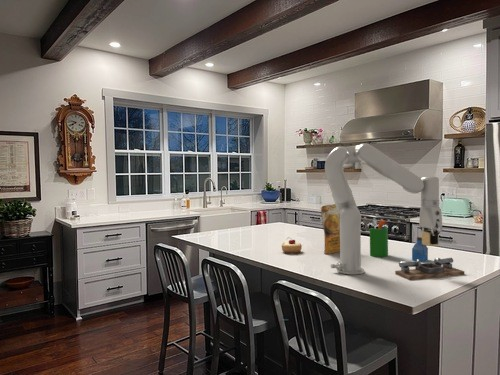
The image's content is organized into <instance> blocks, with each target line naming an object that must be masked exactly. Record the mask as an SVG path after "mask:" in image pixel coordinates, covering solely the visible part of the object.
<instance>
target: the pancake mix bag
mask: <svg viewBox="0 0 500 375" xmlns="http://www.w3.org/2000/svg"><path fill="white" fill-rule="evenodd" d="M320 214H321V220H322V222H321V223H322V229H323V233H324V234H323V235H324V236H323V237H324V252H323V254H325V255H331V253H332V254H336V253H338V252H339V253H340V215H339V212H338V210H337V207H336V204H335V203H334V204H327V205H322V206H321V207H320ZM335 252H336V253H335Z"/></svg>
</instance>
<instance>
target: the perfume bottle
mask: <svg viewBox="0 0 500 375" xmlns="http://www.w3.org/2000/svg"><path fill="white" fill-rule="evenodd" d="M415 242H416V243H415V244H414V246H412V249H411V261H416V260H420V262H421V263H425V262H427V261H428V260H429V259H428V258H429V254H428V253H429V251H428V250H429V247H428V246H427V245H423V244H422V236H421V237H419V236H418V237H416V240H415Z"/></svg>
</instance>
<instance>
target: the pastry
mask: <svg viewBox="0 0 500 375" xmlns="http://www.w3.org/2000/svg"><path fill="white" fill-rule="evenodd" d="M288 239H289V237H287V238H286V239H285V240H286V242H283V243H282V244H281V250H282V252H283V253H284V252H285V254H289V253H295V254H299V253H300V252H301V251H302V248H303V247H302V246H303V245H302V243H300V242H297V241H296V240H295V239H292V238H290V239H289V240H288ZM287 240H288V241H287Z"/></svg>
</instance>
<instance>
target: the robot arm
mask: <svg viewBox="0 0 500 375" xmlns="http://www.w3.org/2000/svg"><path fill="white" fill-rule="evenodd" d="M357 163H363V164H365V165H366V166H368V167H370V168H371V169H372V170H373V171H376V172H377V173H378V174H379V175H380V176H381V175H382V177H385V178H387V179H388V180H391V181H393V182H395V183H396V184H398V185H400V186H401V187H402V188H403V190H404V191H406V192H407V193H411V194H414V195H415V194H420V209H419V223H418V227H419V229H420V231H421V232H422V231H426V230H431V232H432V236H431V244H432V245H433V244H438V235H439V236H440V233H441V232H442V231H443V230H444V229H443V216H442V209H441V207H440V179H439V177H438V176H422V177H419V176H418V175H417V174H415V173H413V172H412V171H410V170H409V169H407V168H406V167H404V166H402V165H401V164H399V162H397V161H396V160H394V159H392V158H391V157H389V156H387V155H386V154H385V153H383V152H382V151H380V150H379V149H377V148H376V147H374V146H373V145H372V144H369V143H366V142H365V143H360V144H357V145H352V146H337V147H335V148H333V149H332V150H331V152H330V153H329V154H328V155H327V157H326V159H325V163H324V172H325V173H324V174H325V177H326V179H327V182H328V186H329V189H330V192H331V196H332V198H333V202H334V204H336V207H337V210H338V213H339V218H340V252H339V253H340V254H339V256H340V257H339V259H340V260H339V261H337V263H336V264H335V263H331V264H330V268H331V269H336V272H338V273H340V274H342V275H343V274H345V275H348V276H349V275H356V276H357V275H361V274H364V273H365V269H364V268H363V267H362V264H361V260H362V258H361V256H362V253H361V252H362V247H361V246H362V245H361V243H362V239H361V236H362V235H361V234H362V233H361V232H362V231H361V229H362V227H361V226H362V215H361V212H360V210H359V208H358V205H357V203H356V200H355V198H354V195H353V190H352V188H351V187H350V185H349V183H348V179H347V177H346V173H345V172H344V171H345V170H344V165H348V164H357ZM434 230H435V232H434Z"/></svg>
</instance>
